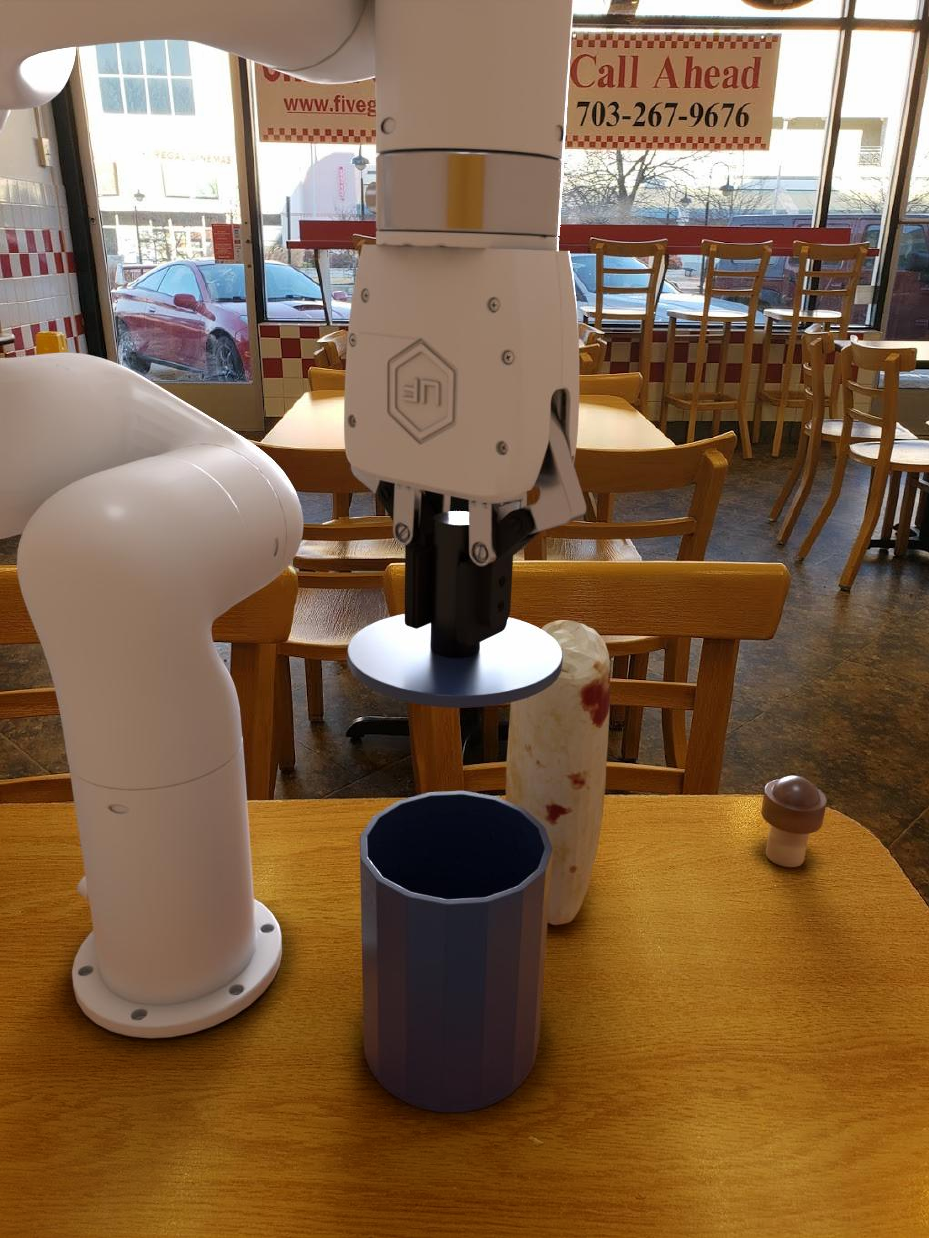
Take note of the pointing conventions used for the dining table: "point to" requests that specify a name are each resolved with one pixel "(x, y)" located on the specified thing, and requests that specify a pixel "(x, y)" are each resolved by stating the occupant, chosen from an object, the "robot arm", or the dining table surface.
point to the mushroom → (791, 818)
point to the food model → (565, 761)
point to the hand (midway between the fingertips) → (455, 625)
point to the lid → (452, 644)
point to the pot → (453, 947)
